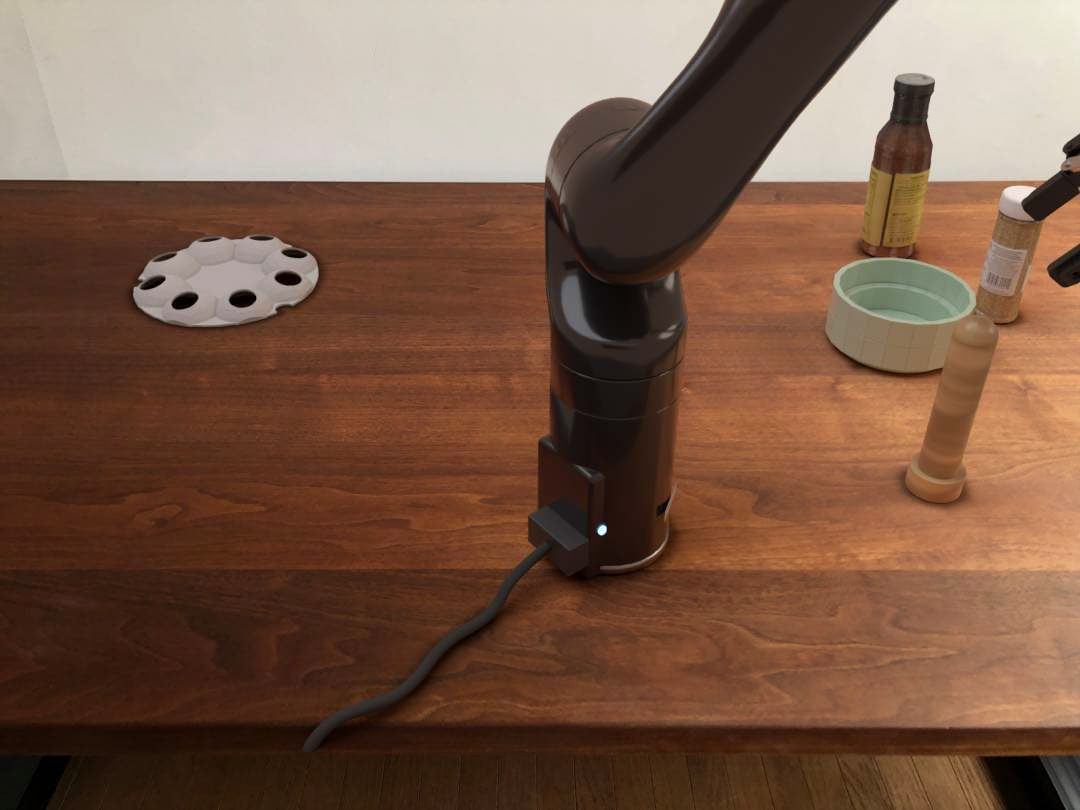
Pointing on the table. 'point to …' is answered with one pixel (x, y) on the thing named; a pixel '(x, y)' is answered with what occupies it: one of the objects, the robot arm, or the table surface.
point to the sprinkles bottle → (1008, 258)
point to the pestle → (953, 412)
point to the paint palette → (225, 280)
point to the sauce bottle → (899, 172)
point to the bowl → (896, 313)
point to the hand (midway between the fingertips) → (1040, 245)
